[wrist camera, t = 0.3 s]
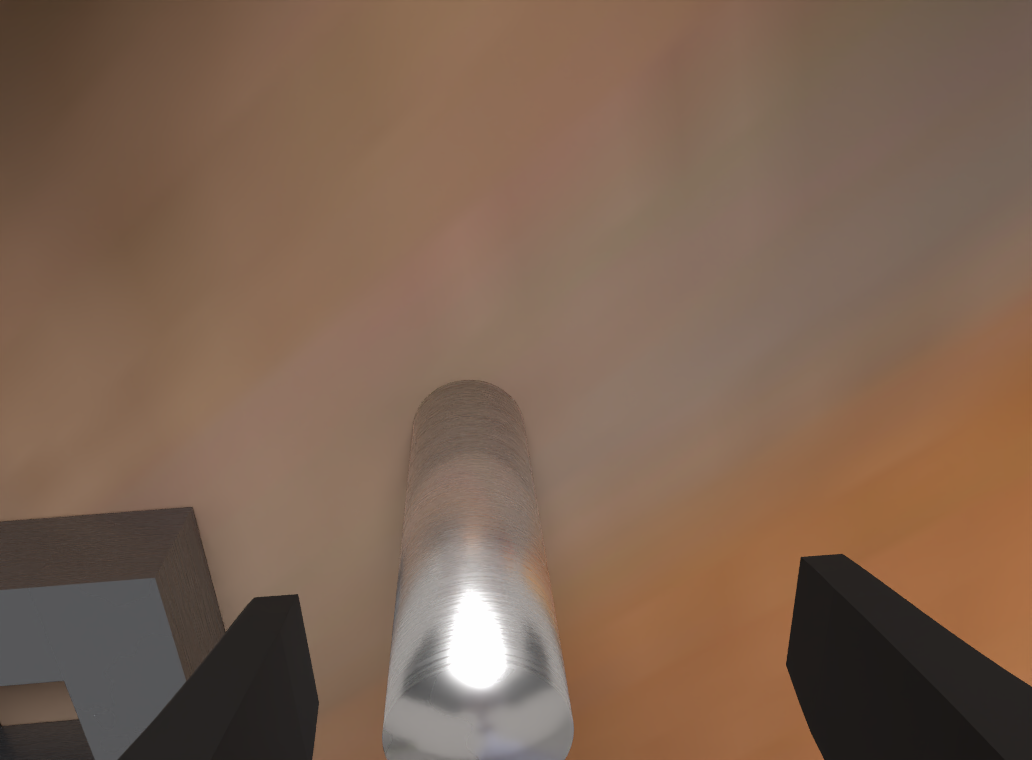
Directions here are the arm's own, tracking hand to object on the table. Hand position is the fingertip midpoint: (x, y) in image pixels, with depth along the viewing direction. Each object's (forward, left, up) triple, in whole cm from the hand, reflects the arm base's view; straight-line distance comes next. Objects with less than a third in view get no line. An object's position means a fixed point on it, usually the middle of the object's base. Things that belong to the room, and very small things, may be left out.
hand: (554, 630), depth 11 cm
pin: (-2, +1, -10) cm, 10 cm away
